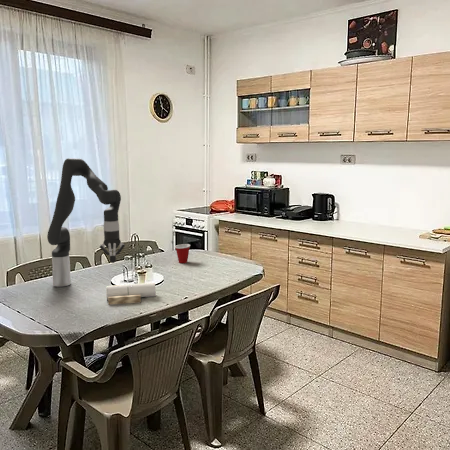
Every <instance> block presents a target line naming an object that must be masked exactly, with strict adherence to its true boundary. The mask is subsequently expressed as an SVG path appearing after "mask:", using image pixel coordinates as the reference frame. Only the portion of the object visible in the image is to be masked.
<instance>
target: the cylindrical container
mask: <svg viewBox="0 0 450 450" xmlns="http://www.w3.org/2000/svg"><path fill="white" fill-rule="evenodd" d="M156 291H157V289H156V282H146V283H145V282H144V283H131V284H119V285H117V284H115V285H107V286H106V291H105V293H106V300H108V297H112V296H127V295H140V296H141V298H147V297H156V294H157V293H156Z"/></svg>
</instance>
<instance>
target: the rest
mask: <svg viewBox="0 0 450 450" xmlns="http://www.w3.org/2000/svg"><path fill="white" fill-rule="evenodd" d="M141 298H142V297H141V296H140V295H127V296H112V297H108V305H123V304H134V303H135V304H137V303H141V301H142V299H141Z"/></svg>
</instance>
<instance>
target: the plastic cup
mask: <svg viewBox="0 0 450 450" xmlns="http://www.w3.org/2000/svg"><path fill="white" fill-rule="evenodd" d="M190 247H191V244H189V243H182V244H177V245H174V248H175V251H176V256H177V261H178V263H179V264H187V263H188V261H189V260H188V259H189V255H190V253H189V251H190Z"/></svg>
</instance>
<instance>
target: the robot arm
mask: <svg viewBox="0 0 450 450" xmlns="http://www.w3.org/2000/svg"><path fill="white" fill-rule="evenodd" d="M62 164H63V165H62V167H61V168H62V169H61V170H62V171H61V177H60V185H59V189H58V193H57V199H56V202H55V208H54V211H53V216H52V219H51V222H50V226H49V228H48V230H47V236H46V237H47V242H48V243H49V244H50V245H52V246H56V247H55V248H54V249H53V250H52V251H51V260H52V261H51V263H52V270H51V271H52V272H51V274H52V286H53V287H56V288H57V287H58V288H60V287H67V286H69V285H71V284H72V281H71V262H70V260H71V259H70V250H71V234H70V231H69V229H68V228H67V227H65V226H63V225H64V223H65V222H66V220H67V219H68V218H69V216H70V215H71V214H72V212H73V210H74V207H75V201H76V195H75V193H74V191H73V188H72V179H73V177H77V176H78V177H79V176H81V177H83V178H84V179H86V185H87V187H88V188H89V190H91V192H93V193H94V194H95V195H96V197H97V199H98V201H99V202H100V203H101V204H102V205H107V206H108V205H109V207H108V208H106V209H104V210H103V236H104V238H103V239H104V240H103V241H102V242H103V243H102V244H100V245H99V248H100V249H101V250H102V251H103V253H104V254H105V255H106V256H109V261H110V262H111V263H112V264H115V262H117V259H116V258H117V256H118V255H119V254H120V253H121V252H122V250H123V249H124V248H125V243H123V242H122V241H121V239H120V238H121V237H120V223H119V210H120V206H121V200H122V195H121V192H119V191H118V189H108V188H109V187H108V185H107V184H106V183H105V182H104V181H103V180H102V179H100V178H99V177H98V176H97V175H96V174H95V173H94V170H92V168H91V167H90V166H89V165H88V163H87V162H86V161H85V160H84V159H82V158H73V157H68V158H65V160H64V161H63V163H62ZM118 247H119V248H118ZM106 248H107V249H106ZM117 249H118V250H117ZM116 250H117V251H116Z"/></svg>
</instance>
